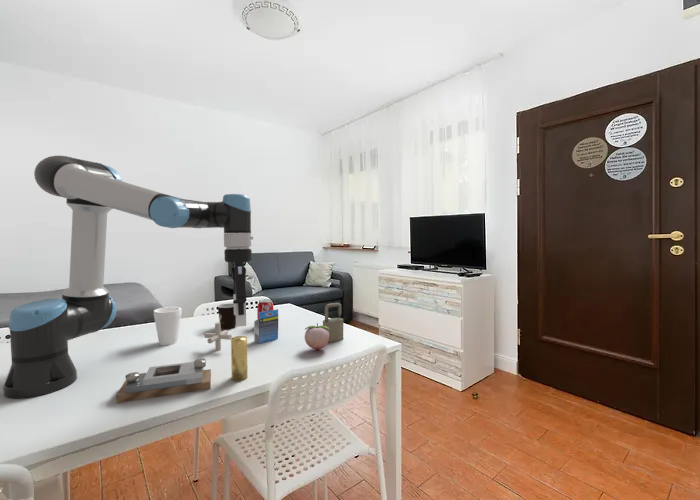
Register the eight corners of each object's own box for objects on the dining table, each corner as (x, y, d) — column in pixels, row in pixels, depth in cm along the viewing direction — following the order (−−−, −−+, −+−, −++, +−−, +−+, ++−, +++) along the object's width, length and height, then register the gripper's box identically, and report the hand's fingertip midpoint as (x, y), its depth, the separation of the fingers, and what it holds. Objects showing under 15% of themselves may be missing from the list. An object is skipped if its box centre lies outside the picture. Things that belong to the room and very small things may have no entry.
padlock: (344, 339, 136) (344, 303, 135) (326, 343, 131) (326, 305, 130) (339, 337, 139) (339, 301, 138) (321, 340, 135) (321, 303, 134)
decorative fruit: (306, 355, 118) (306, 327, 118) (303, 347, 126) (303, 321, 126) (332, 353, 121) (332, 325, 120) (327, 345, 129) (327, 319, 128)
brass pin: (231, 382, 97) (231, 341, 97) (231, 375, 102) (230, 336, 101) (248, 379, 99) (247, 339, 98) (246, 373, 103) (246, 335, 103)
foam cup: (186, 338, 136) (185, 306, 135) (175, 346, 126) (174, 312, 126) (162, 338, 135) (161, 306, 134) (149, 346, 126) (148, 312, 125)
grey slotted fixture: (121, 394, 86) (121, 376, 86) (130, 380, 94) (129, 363, 94) (205, 382, 93) (205, 365, 93) (206, 369, 101) (206, 354, 101)
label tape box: (273, 336, 139) (273, 307, 138) (278, 338, 136) (278, 309, 135) (254, 341, 133) (253, 310, 132) (259, 344, 130) (258, 312, 129)
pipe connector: (222, 355, 117) (222, 327, 117) (197, 353, 119) (196, 325, 119) (237, 346, 127) (237, 320, 127) (214, 344, 129) (213, 318, 129)
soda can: (276, 326, 154) (276, 300, 153) (265, 329, 148) (265, 303, 147) (265, 323, 158) (265, 298, 157) (254, 327, 152) (253, 301, 151)
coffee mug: (218, 325, 154) (218, 304, 154) (238, 324, 157) (238, 302, 156) (216, 333, 143) (216, 309, 142) (237, 331, 146) (237, 308, 145)
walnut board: (116, 403, 85) (116, 395, 85) (125, 387, 94) (125, 380, 94) (210, 388, 93) (210, 381, 93) (210, 375, 102) (210, 369, 102)
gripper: (255, 250, 88) (257, 330, 89) (248, 245, 111) (249, 309, 112) (225, 250, 85) (227, 333, 86) (223, 246, 108) (225, 311, 110)
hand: (239, 320), depth 99 cm, fingers open, 13 cm apart
